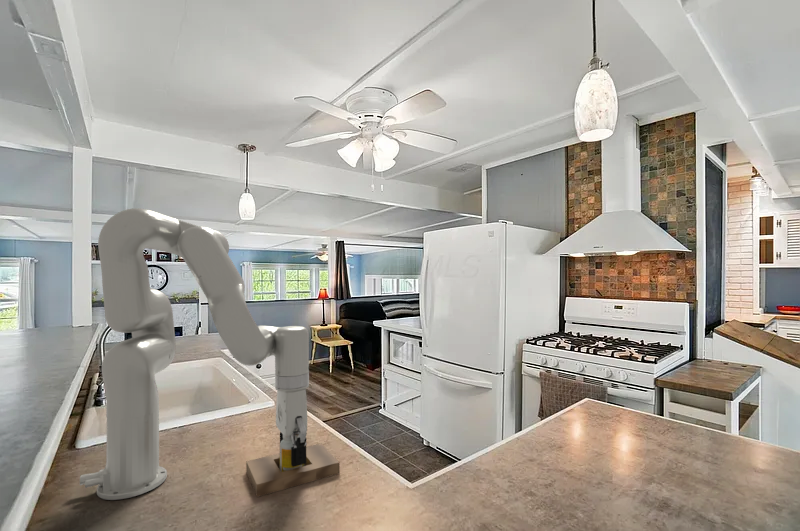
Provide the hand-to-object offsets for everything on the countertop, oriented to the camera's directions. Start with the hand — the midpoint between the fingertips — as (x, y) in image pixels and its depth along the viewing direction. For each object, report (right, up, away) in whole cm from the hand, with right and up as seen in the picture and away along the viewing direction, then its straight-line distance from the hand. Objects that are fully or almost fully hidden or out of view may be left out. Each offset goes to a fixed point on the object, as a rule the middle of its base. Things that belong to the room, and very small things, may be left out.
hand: (292, 456), depth 90 cm
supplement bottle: (0, -4, 0) cm, 4 cm away
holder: (0, -4, 0) cm, 4 cm away
